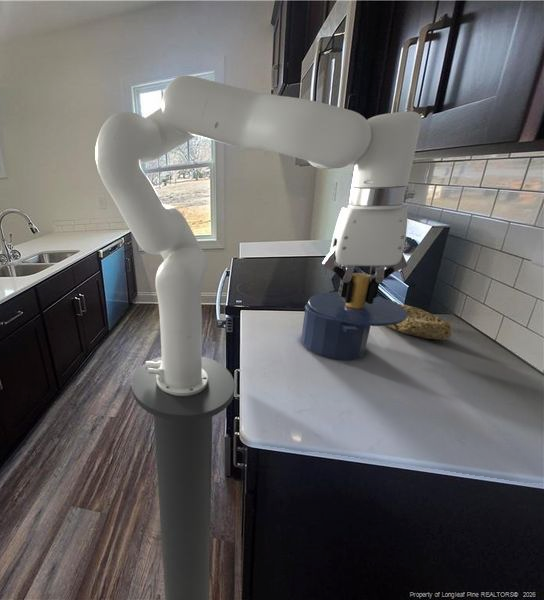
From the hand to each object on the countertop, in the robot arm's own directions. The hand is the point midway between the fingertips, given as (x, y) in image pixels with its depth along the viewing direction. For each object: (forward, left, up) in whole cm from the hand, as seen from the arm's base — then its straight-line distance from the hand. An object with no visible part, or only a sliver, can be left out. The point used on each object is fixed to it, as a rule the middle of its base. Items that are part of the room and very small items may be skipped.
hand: (355, 300), depth 59 cm
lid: (0, 0, -2) cm, 2 cm away
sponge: (+27, +33, -21) cm, 47 cm away
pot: (+5, +21, -21) cm, 30 cm away
